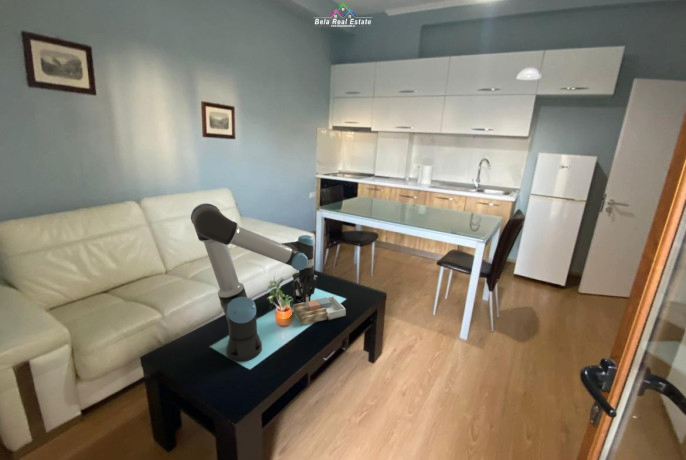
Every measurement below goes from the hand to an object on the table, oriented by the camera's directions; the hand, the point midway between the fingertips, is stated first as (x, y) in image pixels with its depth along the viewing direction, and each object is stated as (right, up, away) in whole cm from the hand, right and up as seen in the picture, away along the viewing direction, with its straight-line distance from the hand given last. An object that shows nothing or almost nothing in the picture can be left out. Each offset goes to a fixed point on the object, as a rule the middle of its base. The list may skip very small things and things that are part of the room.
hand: (306, 306), depth 168 cm
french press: (-6, -1, +16) cm, 17 cm away
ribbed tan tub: (+2, -5, +2) cm, 6 cm away
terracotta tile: (+3, -1, +2) cm, 4 cm away
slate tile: (+9, -1, +5) cm, 10 cm away
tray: (+13, -4, +8) cm, 15 cm away
